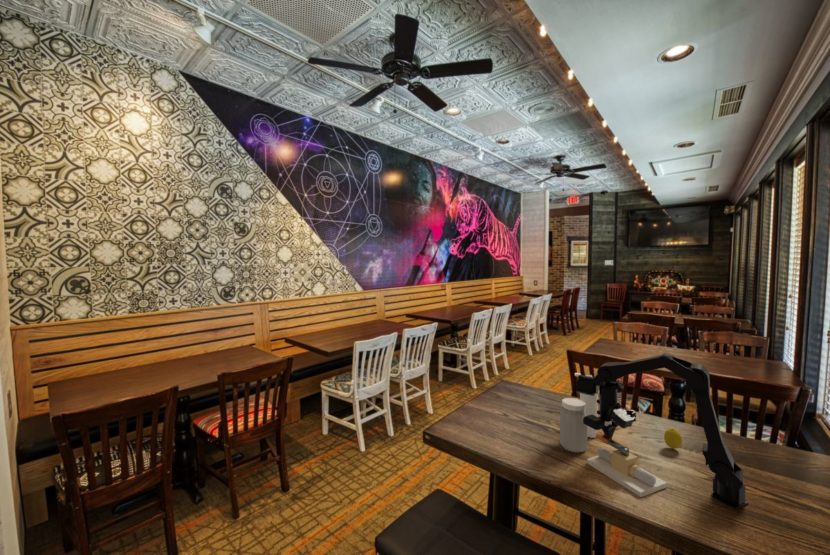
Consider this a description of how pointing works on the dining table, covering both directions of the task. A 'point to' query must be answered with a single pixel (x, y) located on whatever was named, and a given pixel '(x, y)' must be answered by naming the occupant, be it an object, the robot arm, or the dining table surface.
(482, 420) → the dining table surface
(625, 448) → the lever
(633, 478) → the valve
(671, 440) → the lemon
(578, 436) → the jar
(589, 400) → the water bottle
